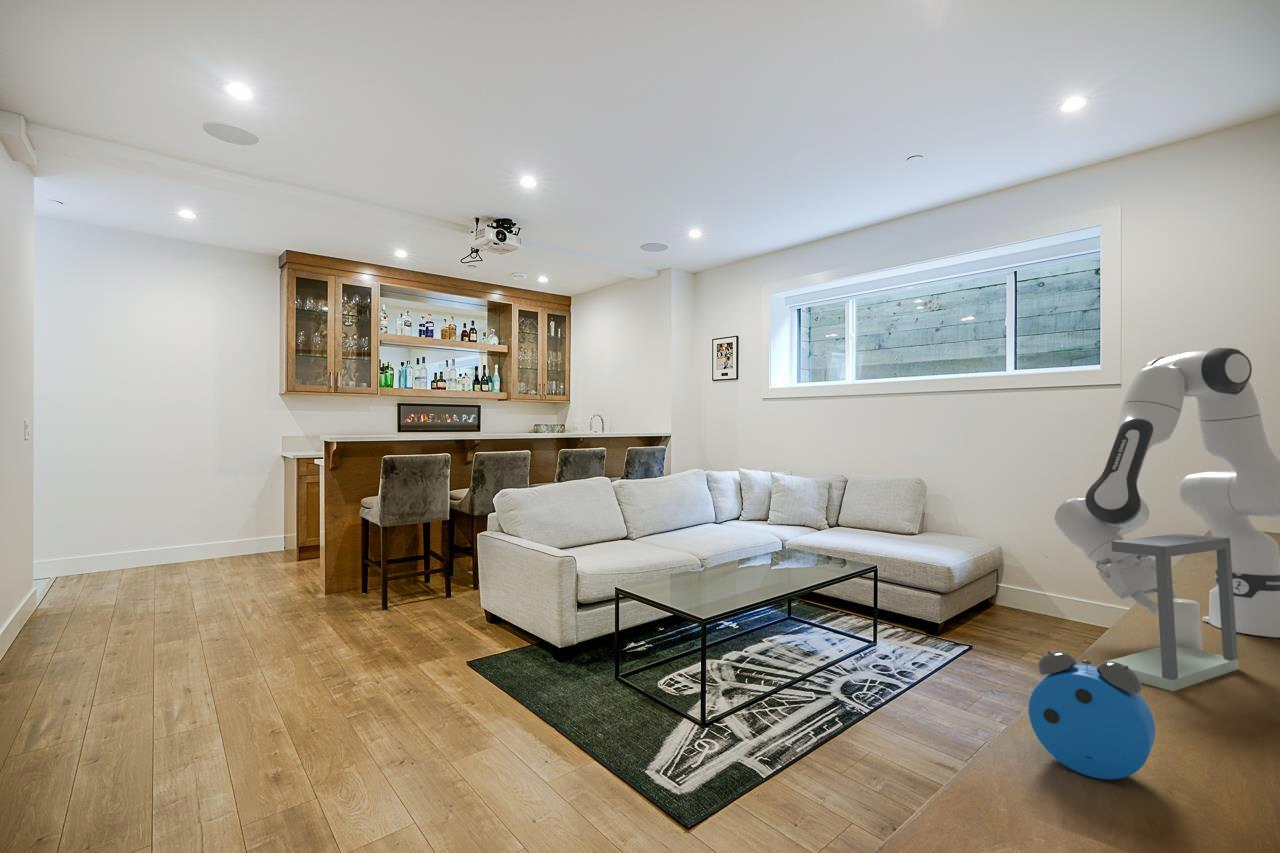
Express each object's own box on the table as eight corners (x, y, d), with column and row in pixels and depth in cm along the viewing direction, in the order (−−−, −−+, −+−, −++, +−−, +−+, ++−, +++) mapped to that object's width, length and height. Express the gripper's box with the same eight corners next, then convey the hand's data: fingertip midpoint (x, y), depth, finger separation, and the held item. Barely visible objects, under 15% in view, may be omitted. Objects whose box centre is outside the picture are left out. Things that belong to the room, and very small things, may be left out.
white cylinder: (1175, 647, 133) (1172, 597, 134) (1207, 654, 129) (1204, 602, 129) (1163, 650, 131) (1160, 599, 132) (1195, 657, 126) (1192, 605, 127)
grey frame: (1170, 653, 129) (1163, 532, 131) (1238, 669, 119) (1229, 538, 121) (1103, 672, 117) (1096, 539, 119) (1173, 691, 108) (1164, 546, 109)
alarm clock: (1158, 780, 78) (1152, 663, 79) (1152, 799, 73) (1145, 674, 74) (1040, 746, 87) (1036, 642, 88) (1029, 761, 83) (1024, 651, 84)
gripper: (1101, 553, 135) (1156, 605, 126) (1149, 547, 144) (1203, 596, 135) (1081, 569, 139) (1132, 622, 130) (1128, 563, 148) (1179, 612, 139)
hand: (1169, 609), depth 132 cm, fingers open, 8 cm apart
